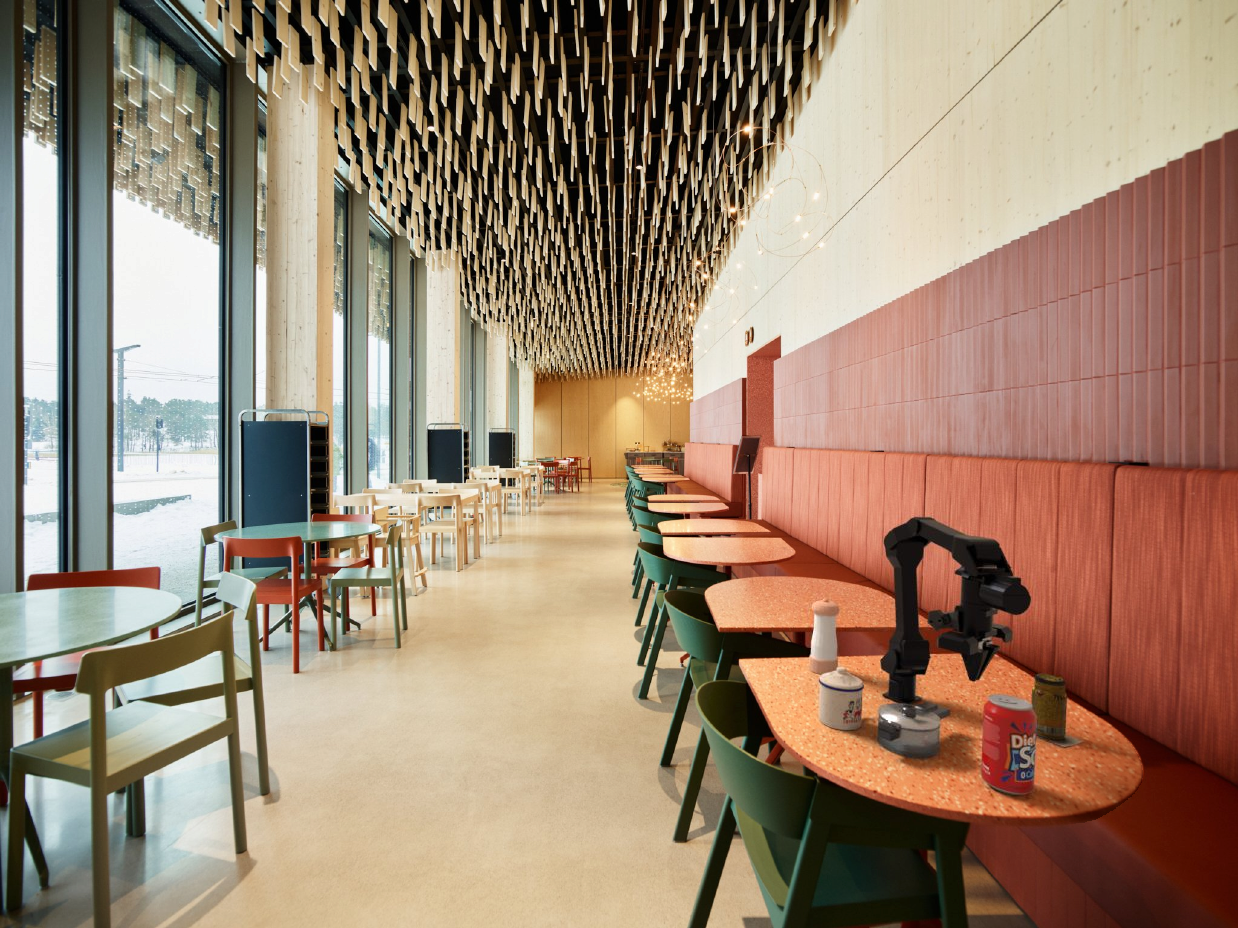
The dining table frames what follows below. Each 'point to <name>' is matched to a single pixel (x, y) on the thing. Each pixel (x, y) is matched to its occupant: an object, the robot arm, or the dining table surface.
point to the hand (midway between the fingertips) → (974, 680)
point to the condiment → (1051, 710)
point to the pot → (911, 738)
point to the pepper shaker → (824, 637)
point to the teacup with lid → (840, 700)
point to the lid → (911, 716)
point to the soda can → (1009, 744)
